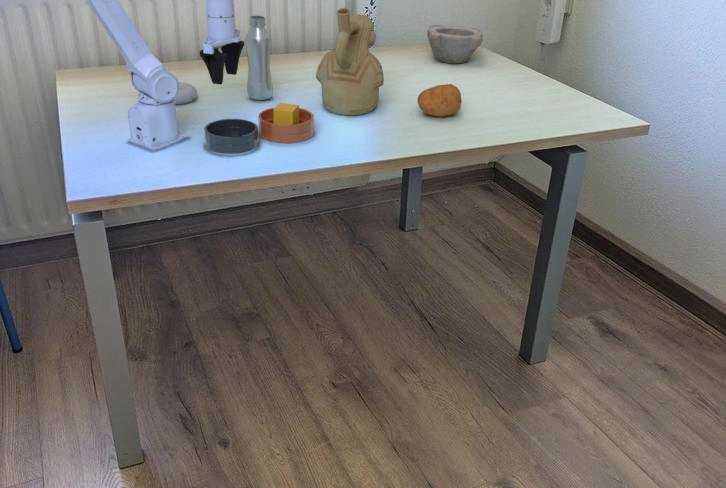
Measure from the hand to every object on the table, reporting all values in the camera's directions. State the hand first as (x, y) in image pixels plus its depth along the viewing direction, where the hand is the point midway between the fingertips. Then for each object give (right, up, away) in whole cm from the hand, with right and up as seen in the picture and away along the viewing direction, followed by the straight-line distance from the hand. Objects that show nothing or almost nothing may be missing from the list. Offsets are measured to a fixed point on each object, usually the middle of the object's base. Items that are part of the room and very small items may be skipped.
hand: (224, 78), depth 148 cm
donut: (-16, -1, +18) cm, 24 cm away
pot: (+3, -16, -6) cm, 17 cm away
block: (+14, -12, 0) cm, 18 cm away
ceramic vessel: (+27, -3, +18) cm, 33 cm away
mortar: (+59, +21, +61) cm, 87 cm away
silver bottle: (+5, 0, +21) cm, 22 cm away
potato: (+49, -5, +16) cm, 52 cm away
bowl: (+14, -12, 0) cm, 18 cm away
